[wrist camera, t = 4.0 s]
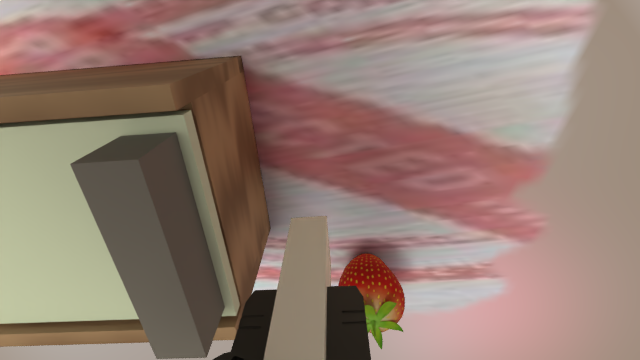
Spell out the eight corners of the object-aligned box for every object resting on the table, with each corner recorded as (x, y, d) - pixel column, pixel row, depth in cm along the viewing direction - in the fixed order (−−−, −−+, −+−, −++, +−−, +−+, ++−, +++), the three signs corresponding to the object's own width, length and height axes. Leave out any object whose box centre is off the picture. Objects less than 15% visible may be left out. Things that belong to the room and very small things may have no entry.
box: (-9, 76, 23) (-259, 117, 13) (240, 55, 22) (169, 84, 12) (71, 237, 29) (-60, 348, 19) (270, 228, 28) (238, 339, 18)
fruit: (406, 258, 29) (431, 335, 22) (367, 291, 31) (378, 372, 24) (361, 226, 28) (372, 297, 21) (323, 262, 30) (321, 339, 23)
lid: (-190, 137, 15) (-341, 171, 12) (190, 109, 14) (146, 138, 11) (-49, 314, 20) (-127, 375, 17) (239, 304, 19) (219, 366, 16)
